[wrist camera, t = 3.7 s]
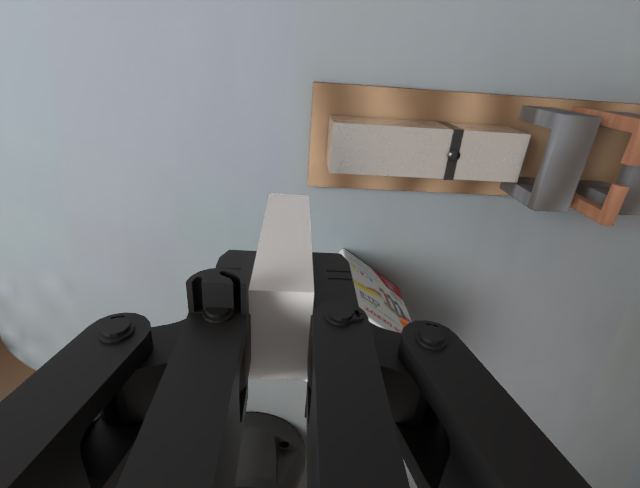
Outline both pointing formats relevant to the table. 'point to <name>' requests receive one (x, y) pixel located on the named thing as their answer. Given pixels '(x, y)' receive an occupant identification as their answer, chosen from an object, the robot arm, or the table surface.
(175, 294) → the table surface
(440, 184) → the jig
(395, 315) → the ink box
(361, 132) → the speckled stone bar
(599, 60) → the table surface
